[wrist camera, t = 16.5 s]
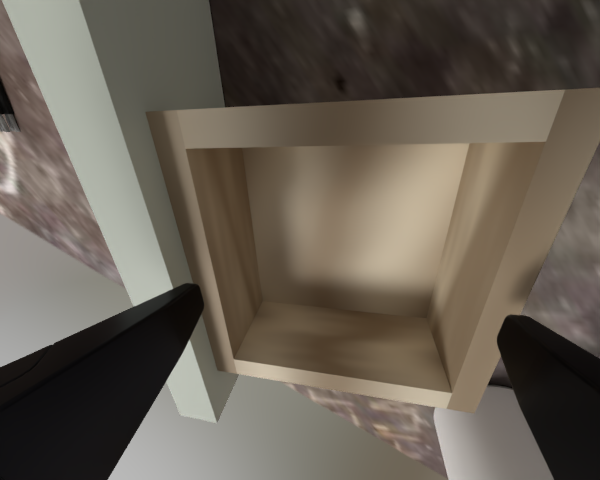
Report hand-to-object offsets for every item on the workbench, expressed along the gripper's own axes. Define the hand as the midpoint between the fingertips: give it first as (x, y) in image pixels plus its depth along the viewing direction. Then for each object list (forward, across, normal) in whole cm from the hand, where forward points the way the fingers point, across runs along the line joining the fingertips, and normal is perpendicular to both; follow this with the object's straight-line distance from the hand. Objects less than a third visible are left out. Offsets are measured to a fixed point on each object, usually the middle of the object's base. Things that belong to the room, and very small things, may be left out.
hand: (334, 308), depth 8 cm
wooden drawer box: (+6, 0, 0) cm, 6 cm away
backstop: (+6, +6, -1) cm, 9 cm away
